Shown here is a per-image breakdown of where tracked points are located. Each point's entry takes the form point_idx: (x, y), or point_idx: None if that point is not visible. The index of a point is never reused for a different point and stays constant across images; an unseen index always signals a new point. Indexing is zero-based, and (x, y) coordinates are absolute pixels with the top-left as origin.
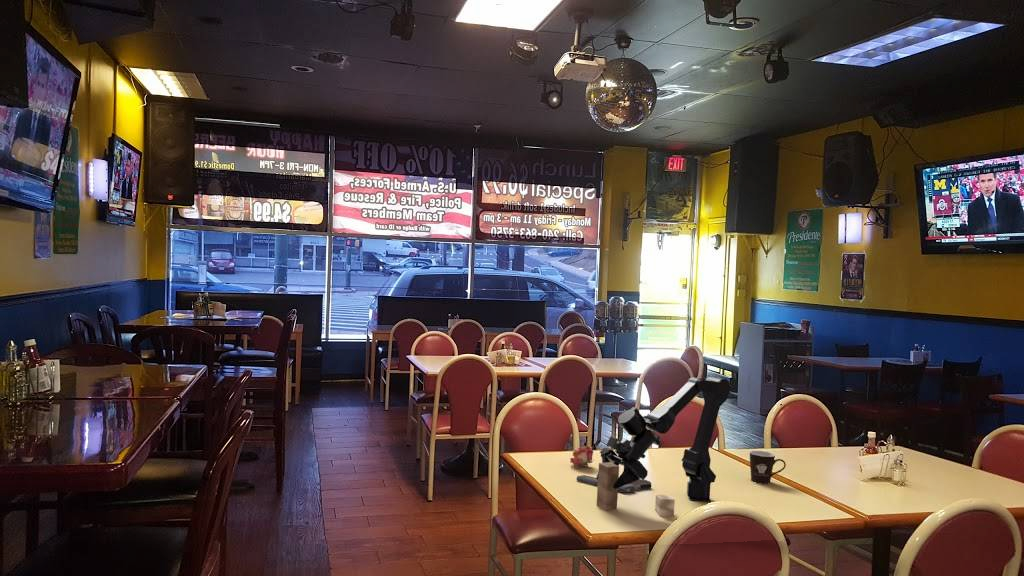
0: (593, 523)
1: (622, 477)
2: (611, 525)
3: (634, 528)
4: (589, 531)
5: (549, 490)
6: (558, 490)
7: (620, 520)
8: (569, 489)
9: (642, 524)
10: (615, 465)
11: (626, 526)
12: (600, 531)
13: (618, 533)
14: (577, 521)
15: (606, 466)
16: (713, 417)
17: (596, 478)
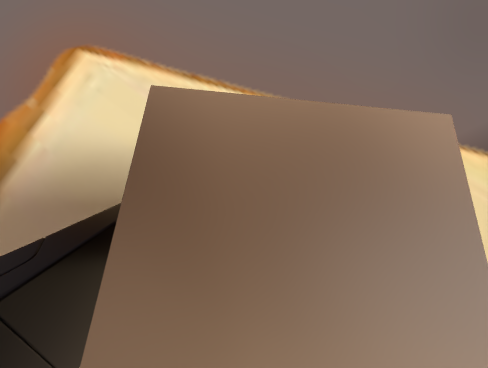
0: (137, 97)
1: (21, 254)
2: (93, 133)
3: (26, 184)
4: (93, 54)
5: (470, 158)
6: (470, 187)
7: (112, 191)
8: (482, 234)
9: (34, 240)
10: (195, 344)
11: (57, 171)
12: (75, 77)
13: (30, 110)
14: (173, 70)
15: (203, 93)
16: None
17: None
